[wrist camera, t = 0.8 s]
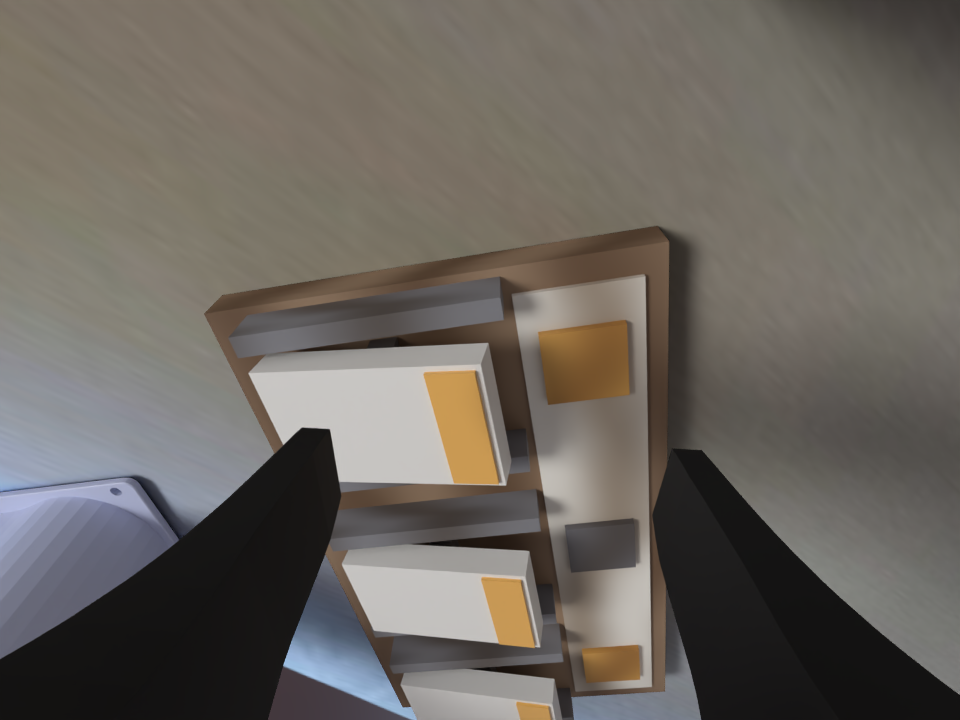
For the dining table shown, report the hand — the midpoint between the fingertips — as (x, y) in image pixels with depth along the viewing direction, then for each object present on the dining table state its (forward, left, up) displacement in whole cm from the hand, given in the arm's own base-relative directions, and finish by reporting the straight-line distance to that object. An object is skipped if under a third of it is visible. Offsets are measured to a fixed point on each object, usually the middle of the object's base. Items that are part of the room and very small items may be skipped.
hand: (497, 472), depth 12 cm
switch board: (-2, -13, -10) cm, 16 cm away
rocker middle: (-4, -13, -7) cm, 15 cm away
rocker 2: (-4, -23, -7) cm, 24 cm away
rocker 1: (-4, -3, -7) cm, 8 cm away
